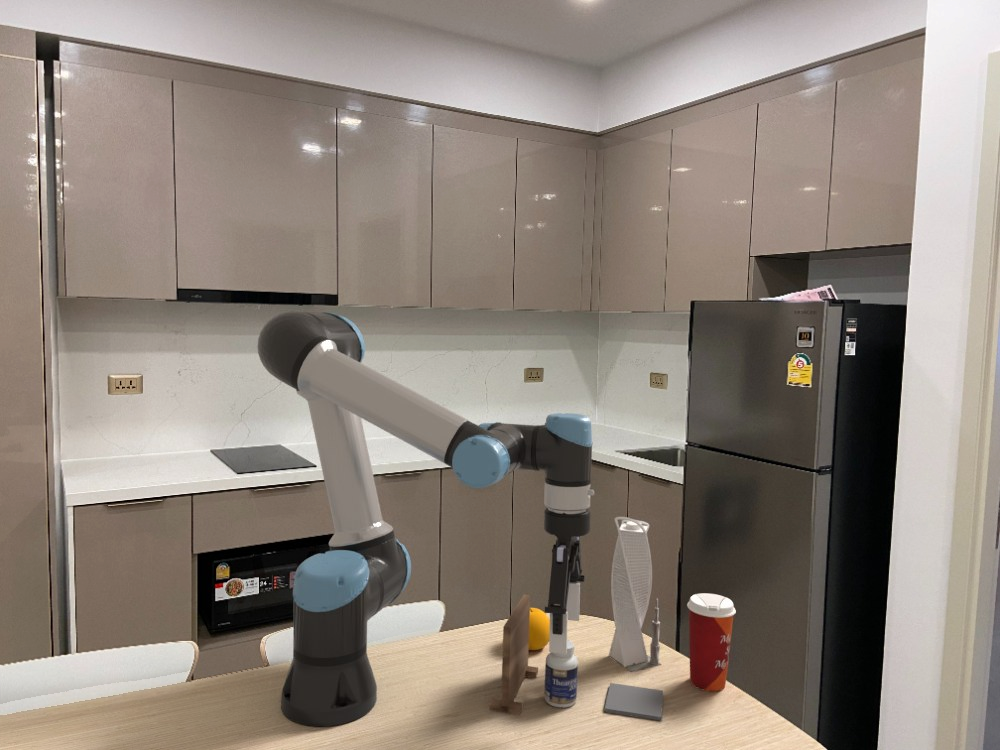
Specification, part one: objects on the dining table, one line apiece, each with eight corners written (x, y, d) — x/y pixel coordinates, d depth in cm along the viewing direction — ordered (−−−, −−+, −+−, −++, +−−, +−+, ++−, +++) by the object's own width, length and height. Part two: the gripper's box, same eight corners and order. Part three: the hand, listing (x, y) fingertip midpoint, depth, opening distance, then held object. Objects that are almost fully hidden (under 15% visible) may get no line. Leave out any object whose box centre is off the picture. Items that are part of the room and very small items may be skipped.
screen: (489, 709, 118) (491, 625, 117) (511, 668, 133) (513, 593, 132) (519, 714, 117) (522, 629, 116) (538, 672, 131) (540, 596, 131)
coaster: (604, 711, 119) (604, 708, 119) (610, 686, 127) (610, 682, 127) (661, 720, 116) (661, 717, 116) (663, 693, 125) (663, 690, 125)
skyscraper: (624, 675, 132) (631, 522, 131) (598, 656, 139) (604, 512, 138) (661, 666, 136) (667, 518, 134) (634, 648, 143) (640, 508, 142)
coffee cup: (734, 697, 125) (738, 611, 124) (684, 691, 126) (688, 606, 125) (729, 675, 133) (733, 594, 132) (682, 669, 134) (686, 589, 134)
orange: (547, 658, 138) (548, 619, 137) (506, 652, 140) (507, 614, 139) (554, 640, 145) (555, 603, 145) (515, 635, 147) (516, 599, 147)
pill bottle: (550, 710, 119) (552, 652, 118) (539, 694, 124) (541, 638, 123) (581, 706, 120) (583, 649, 119) (569, 691, 125) (571, 635, 125)
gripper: (579, 529, 107) (576, 671, 108) (599, 493, 131) (596, 610, 132) (529, 525, 109) (526, 664, 110) (557, 491, 133) (555, 605, 134)
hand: (565, 635), depth 121 cm, fingers open, 13 cm apart
